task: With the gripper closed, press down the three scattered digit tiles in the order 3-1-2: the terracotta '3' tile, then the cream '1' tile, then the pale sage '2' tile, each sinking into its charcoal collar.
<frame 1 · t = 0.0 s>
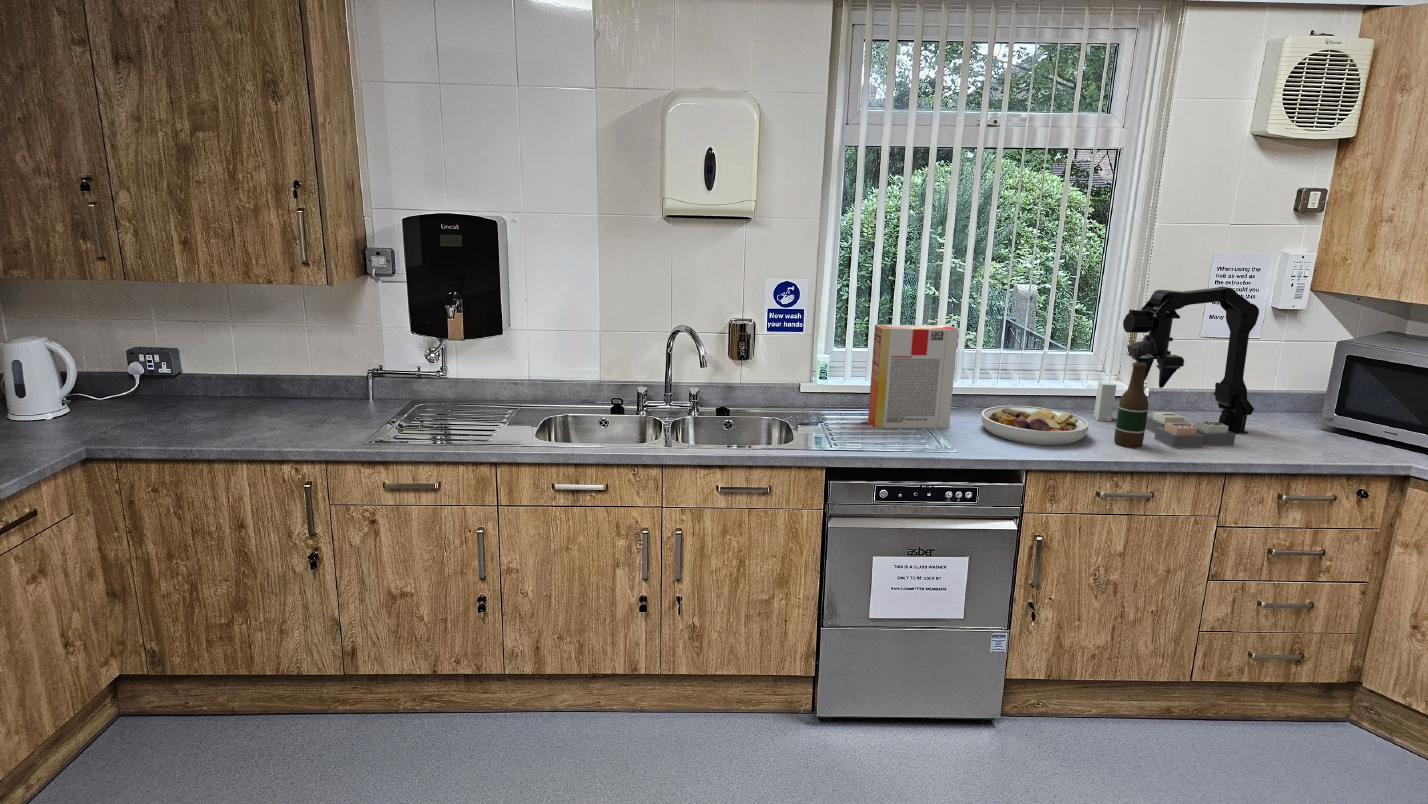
hand: (1151, 384, 257), 15 cm above the countertop, fingers open, 9 cm apart
bowl: (1032, 434, 255), on the countertop
tile 2: (1211, 427, 250), point 4 cm above the countertop, slide at 0.0 cm
tile 3: (1180, 429, 247), point 4 cm above the countertop, slide at 0.0 cm
tile 1: (1168, 418, 259), point 4 cm above the countertop, slide at 0.0 cm
pasta box: (907, 424, 262), on the countertop
beer bottle: (1127, 445, 246), on the countertop
tile collars: (1183, 438, 254), on the countertop
skincare box: (1102, 419, 274), on the countertop
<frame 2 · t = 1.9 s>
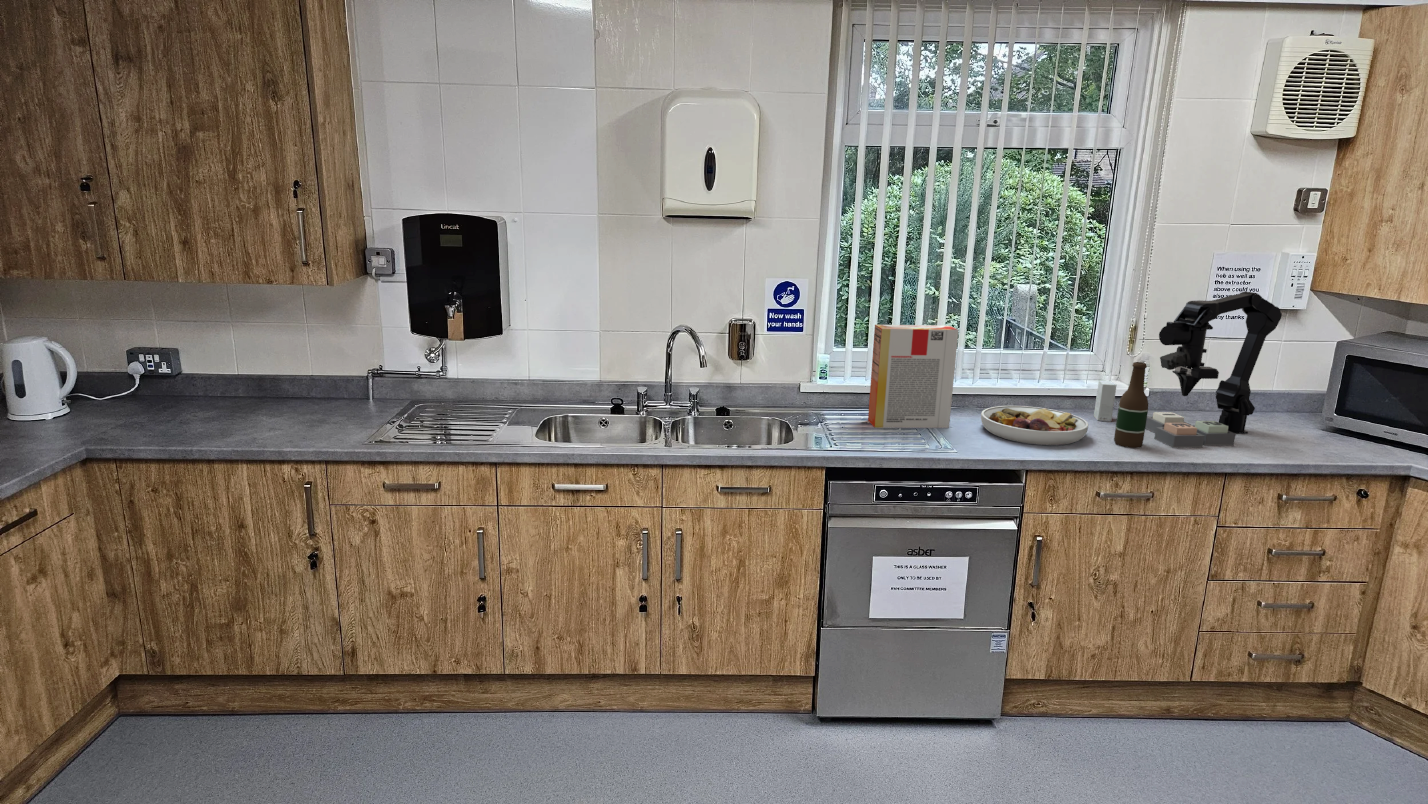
hand: (1184, 396, 255), 12 cm above the countertop, fingers closed
nothing on the countertop moved.
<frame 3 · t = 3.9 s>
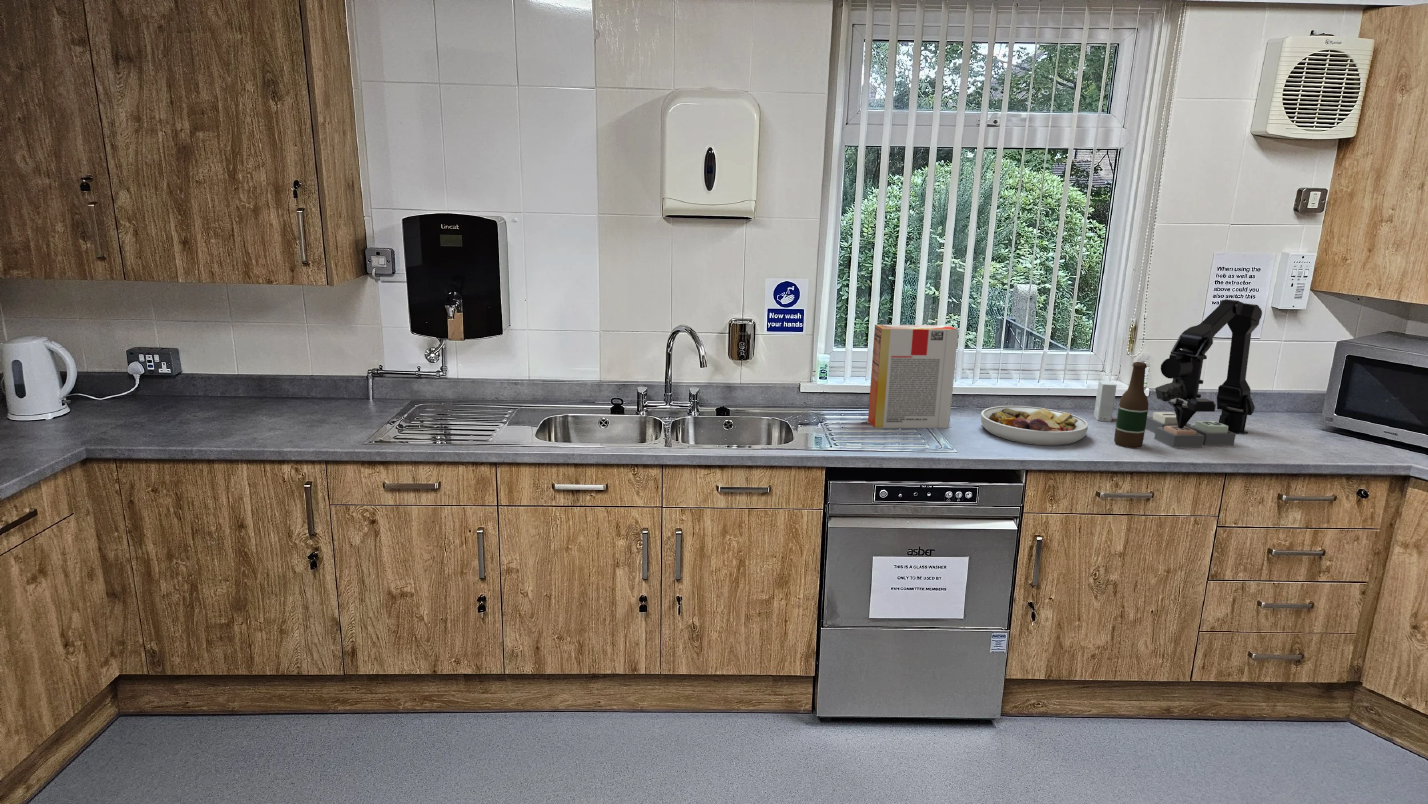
hand: (1180, 427, 247), 5 cm above the countertop, fingers closed, pressing on tile 3
tile 3: (1179, 432, 248), point 3 cm above the countertop, slide at 0.9 cm, touching gripper
everything else where it was.
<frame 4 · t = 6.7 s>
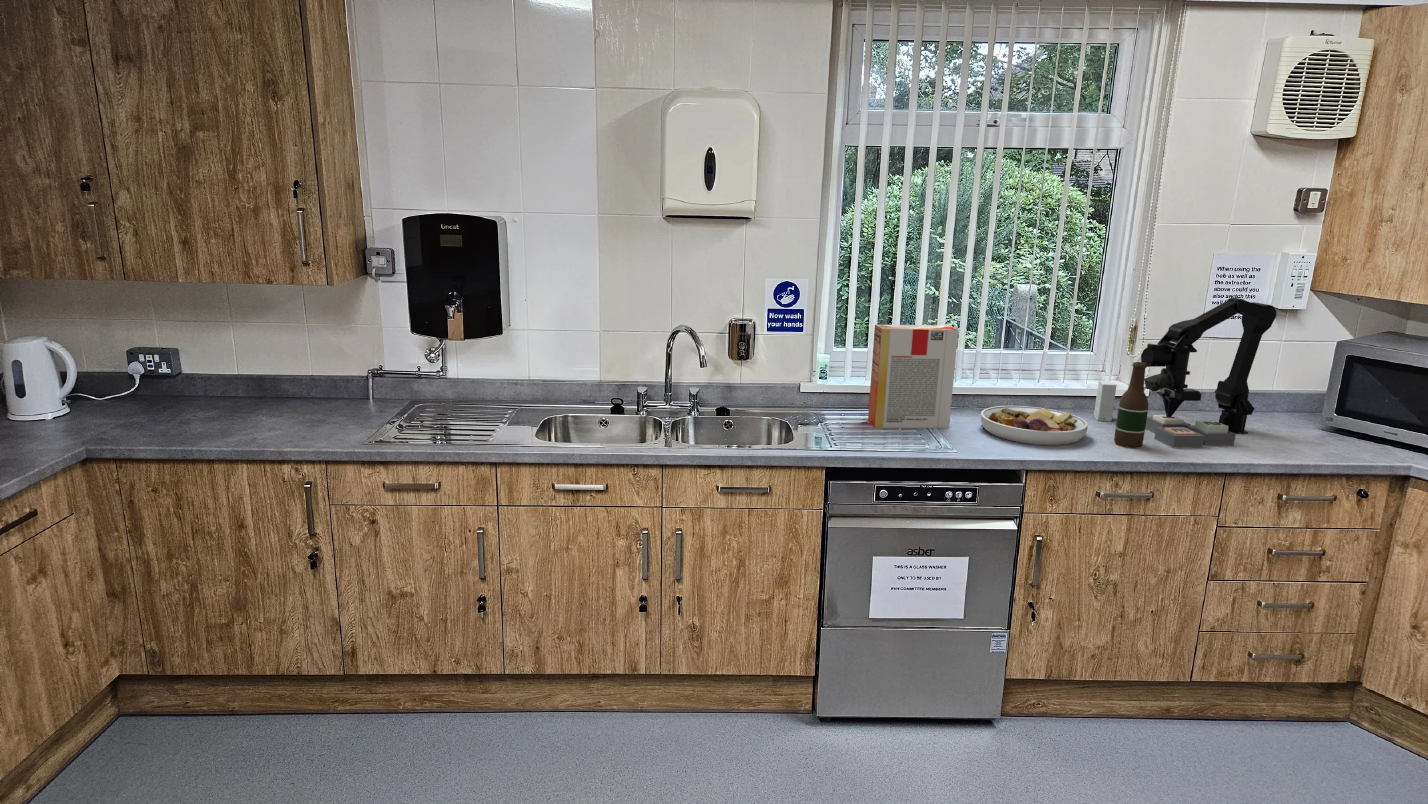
hand: (1168, 416, 259), 5 cm above the countertop, fingers closed, pressing on tile 1
tile 3: (1179, 434, 248), point 3 cm above the countertop, slide at 1.5 cm
tile 1: (1167, 420, 260), point 3 cm above the countertop, slide at 0.9 cm, touching gripper
everything else where it was.
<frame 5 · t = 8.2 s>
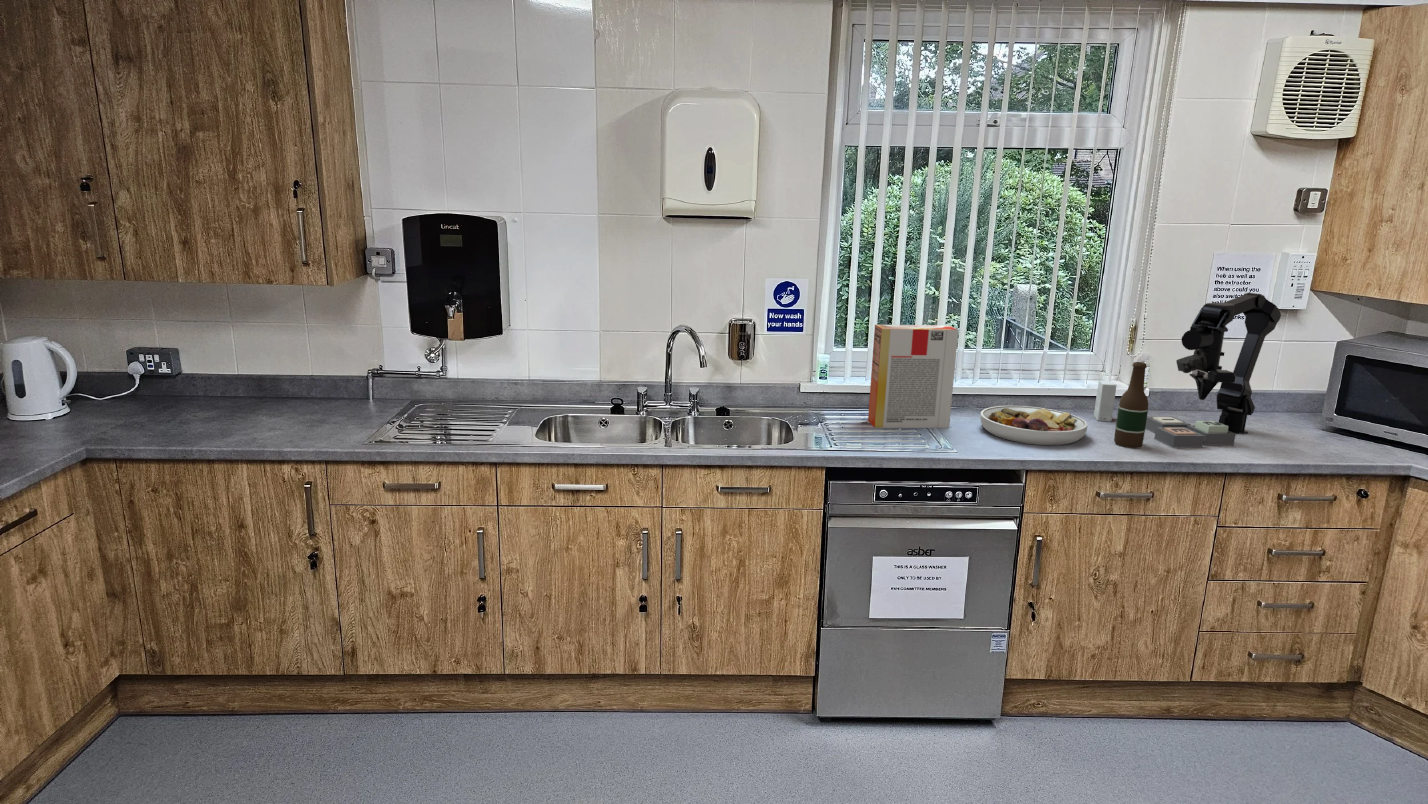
hand: (1201, 399, 251), 12 cm above the countertop, fingers closed
tile 1: (1167, 423, 260), point 3 cm above the countertop, slide at 1.6 cm
everything else where it was.
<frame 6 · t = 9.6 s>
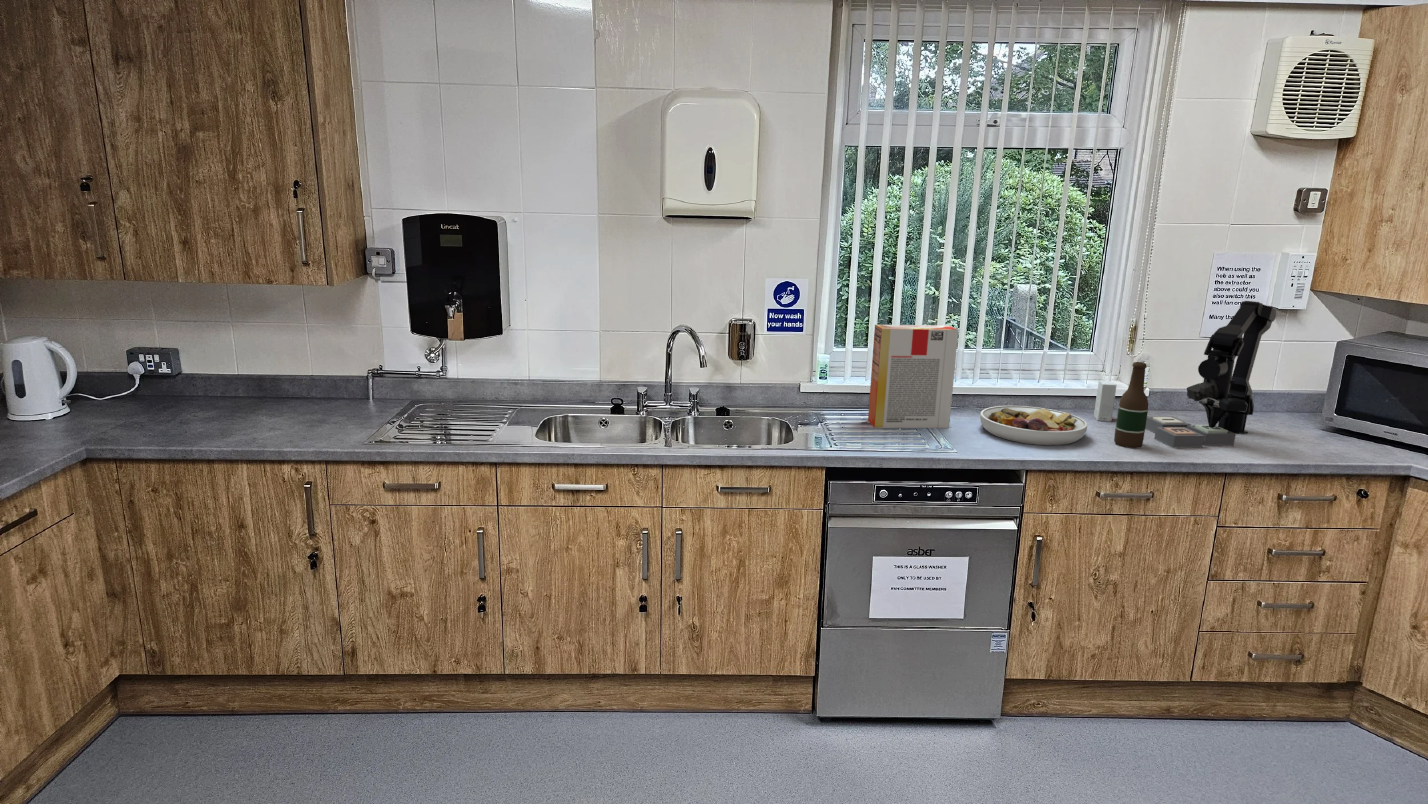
hand: (1211, 427, 251), 4 cm above the countertop, fingers closed, pressing on tile 2
tile 2: (1210, 431, 251), point 3 cm above the countertop, slide at 1.3 cm, touching gripper
everything else where it was.
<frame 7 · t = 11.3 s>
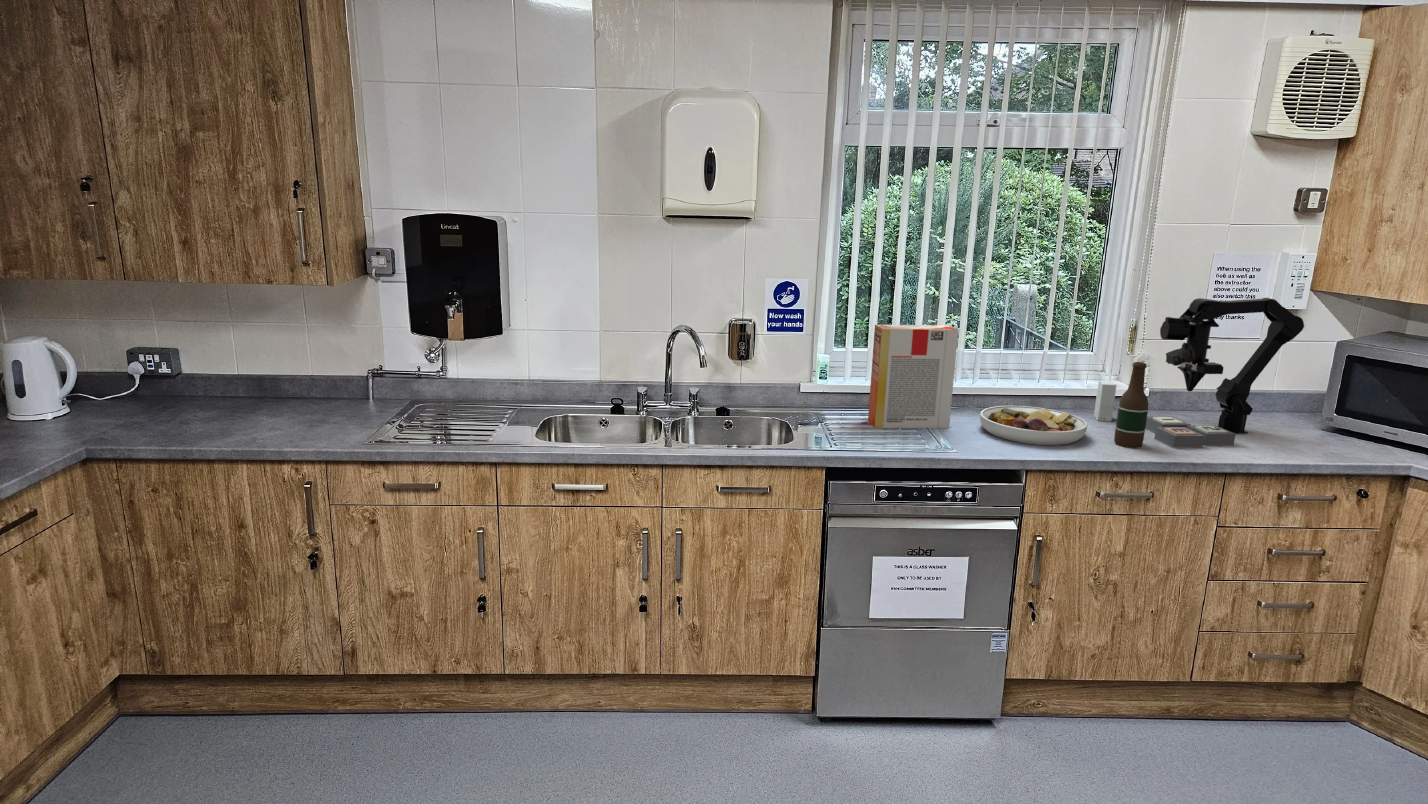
hand: (1189, 391, 262), 12 cm above the countertop, fingers closed
tile 2: (1210, 432, 251), point 3 cm above the countertop, slide at 1.6 cm
everything else where it was.
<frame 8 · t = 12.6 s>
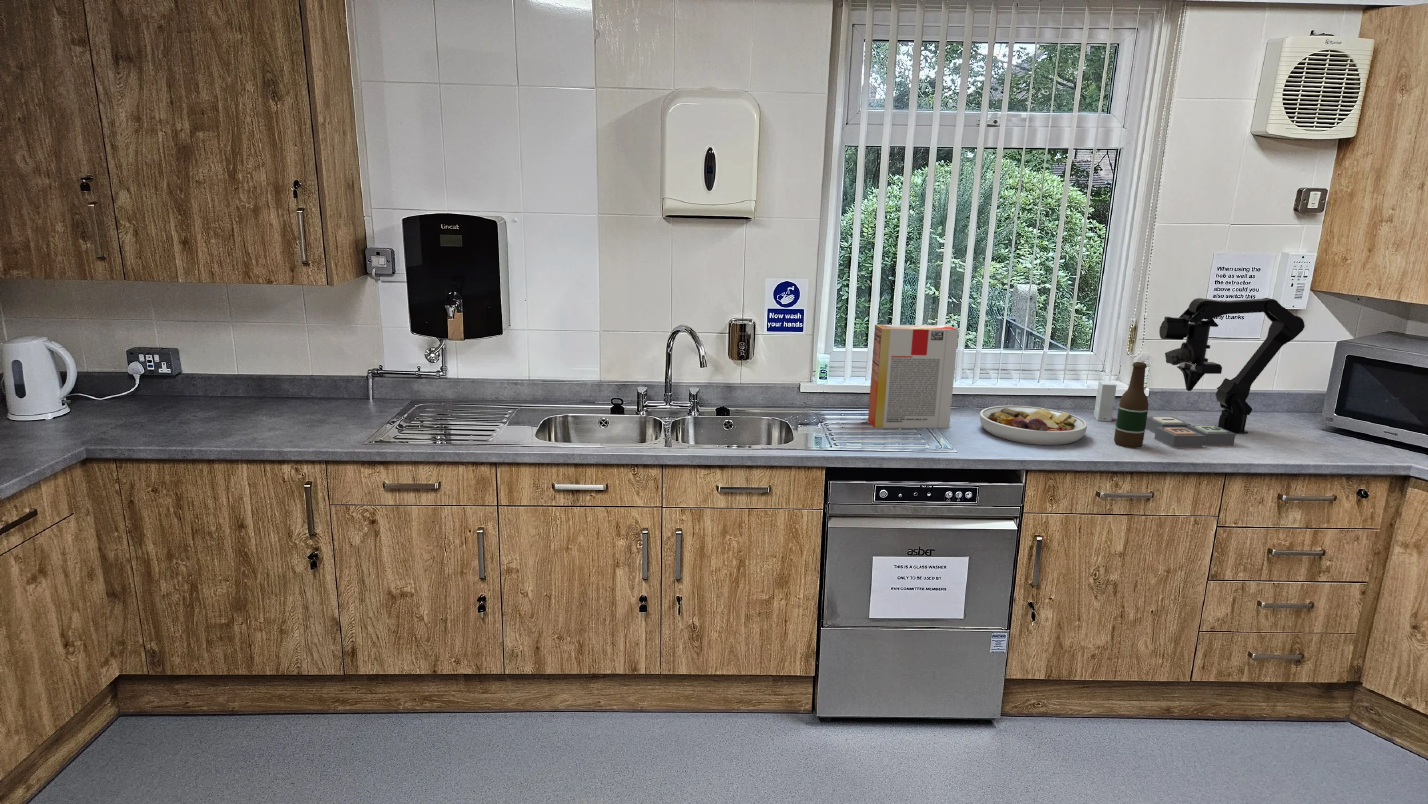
hand: (1188, 390, 262), 12 cm above the countertop, fingers closed
nothing on the countertop moved.
at the end: tile 3 slide at 1.5 cm; tile 1 slide at 1.6 cm; tile 2 slide at 1.6 cm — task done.
